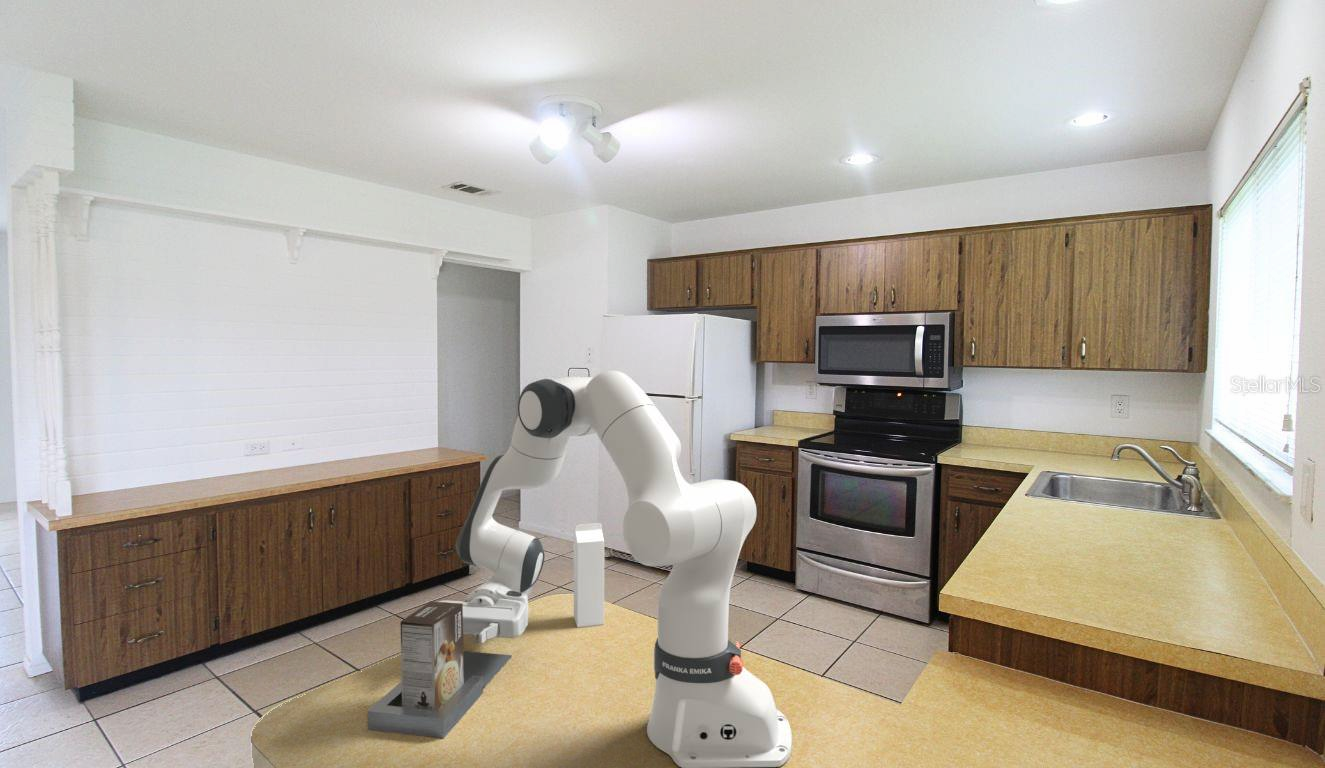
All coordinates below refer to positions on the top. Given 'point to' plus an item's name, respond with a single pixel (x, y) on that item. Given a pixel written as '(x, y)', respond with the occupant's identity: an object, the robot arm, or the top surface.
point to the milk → (588, 575)
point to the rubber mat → (483, 665)
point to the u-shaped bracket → (423, 712)
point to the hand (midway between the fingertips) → (453, 636)
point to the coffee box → (432, 655)
